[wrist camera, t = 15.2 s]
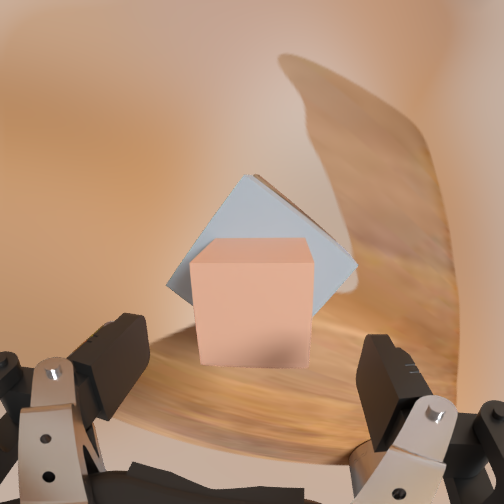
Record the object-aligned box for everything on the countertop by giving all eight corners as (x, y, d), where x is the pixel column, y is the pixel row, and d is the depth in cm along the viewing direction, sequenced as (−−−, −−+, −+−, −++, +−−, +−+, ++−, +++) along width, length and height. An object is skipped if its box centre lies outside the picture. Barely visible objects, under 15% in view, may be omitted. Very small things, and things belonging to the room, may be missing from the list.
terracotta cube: (305, 237, 18) (314, 262, 13) (303, 319, 19) (308, 368, 14) (215, 238, 19) (189, 263, 13) (220, 318, 20) (200, 364, 15)
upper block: (344, 248, 22) (358, 265, 18) (272, 330, 25) (270, 360, 20) (251, 175, 22) (244, 174, 17) (185, 266, 24) (165, 285, 20)
